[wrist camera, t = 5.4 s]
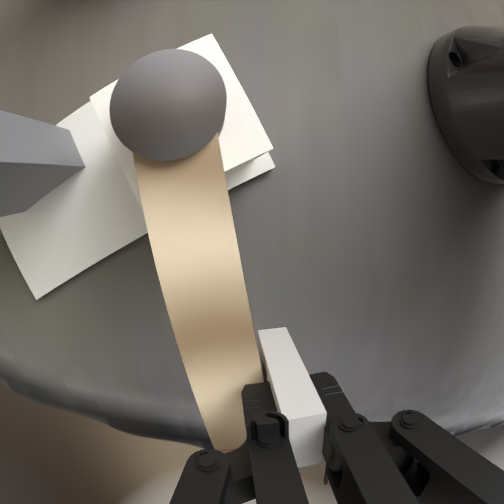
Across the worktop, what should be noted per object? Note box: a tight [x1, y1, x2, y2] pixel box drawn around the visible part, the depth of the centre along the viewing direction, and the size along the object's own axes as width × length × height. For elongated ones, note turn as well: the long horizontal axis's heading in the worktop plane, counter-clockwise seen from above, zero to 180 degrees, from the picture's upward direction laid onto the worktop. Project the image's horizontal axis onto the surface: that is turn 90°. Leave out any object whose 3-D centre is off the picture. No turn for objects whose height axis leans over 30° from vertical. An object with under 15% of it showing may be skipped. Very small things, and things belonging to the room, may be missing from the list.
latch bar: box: [109, 49, 264, 453], centre depth 12 cm, size 20×4×3 cm, turn 10°
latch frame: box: [0, 34, 275, 300], centre depth 14 cm, size 20×10×12 cm, turn 117°
